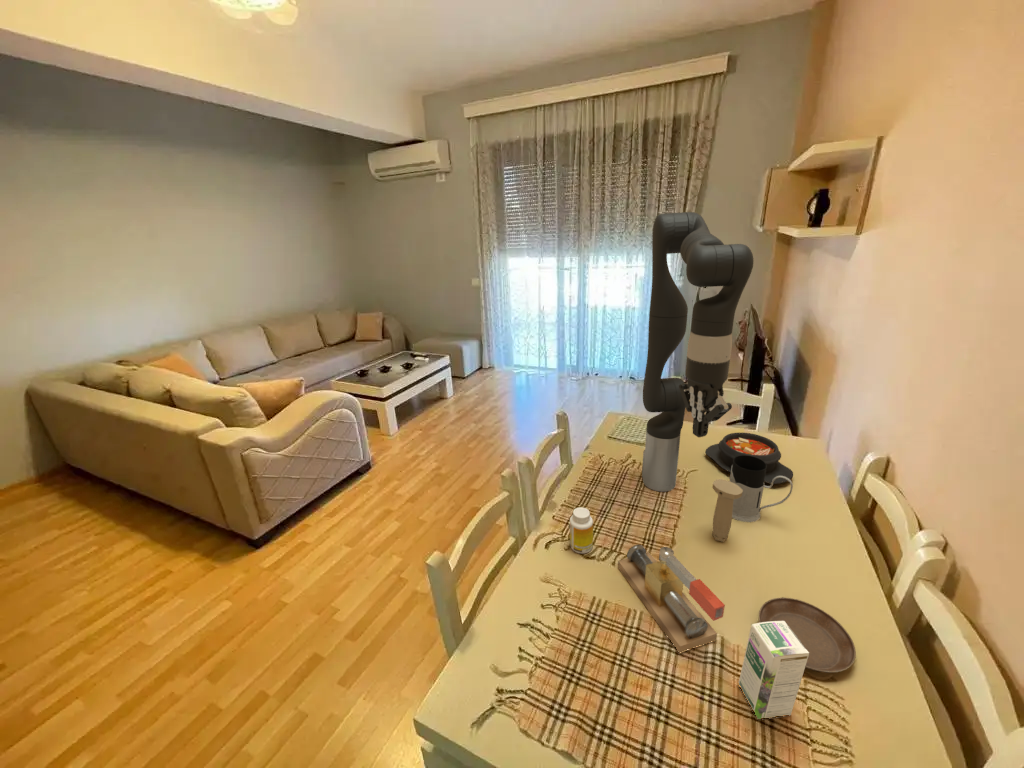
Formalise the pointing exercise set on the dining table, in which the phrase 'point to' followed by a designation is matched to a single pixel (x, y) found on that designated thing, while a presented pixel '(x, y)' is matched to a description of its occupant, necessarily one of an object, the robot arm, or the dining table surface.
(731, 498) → the handle
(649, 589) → the brass ball valve
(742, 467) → the glass holder
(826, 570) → the dining table surface
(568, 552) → the dining table surface
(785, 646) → the syrup box
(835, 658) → the saucer
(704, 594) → the valve lever
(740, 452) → the casserole
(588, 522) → the supplement bottle
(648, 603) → the oak base board
